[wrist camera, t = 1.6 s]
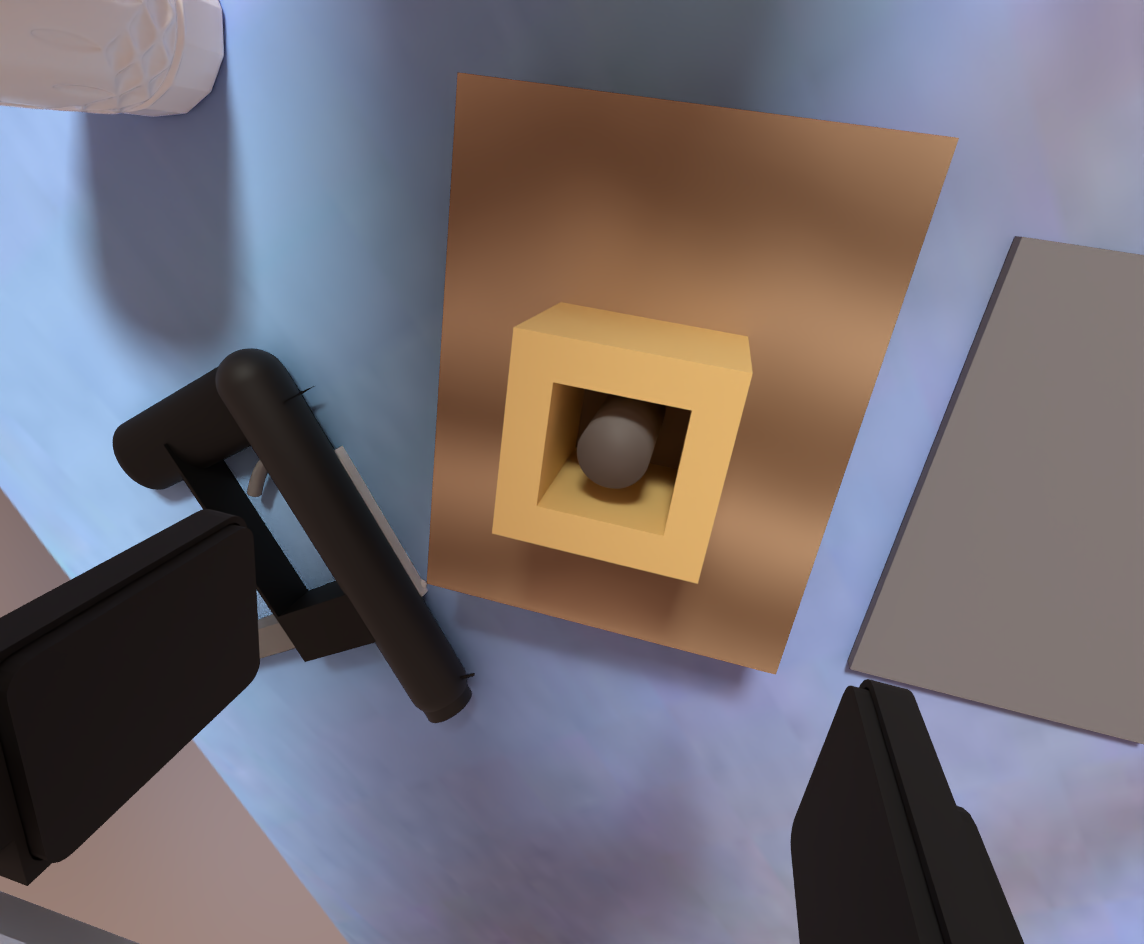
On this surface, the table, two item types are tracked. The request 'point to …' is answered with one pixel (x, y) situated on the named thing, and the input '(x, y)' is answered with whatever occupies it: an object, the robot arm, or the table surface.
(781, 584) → the stand
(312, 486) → the door handle
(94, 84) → the white cup
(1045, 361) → the mat
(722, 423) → the collar
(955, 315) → the table surface
